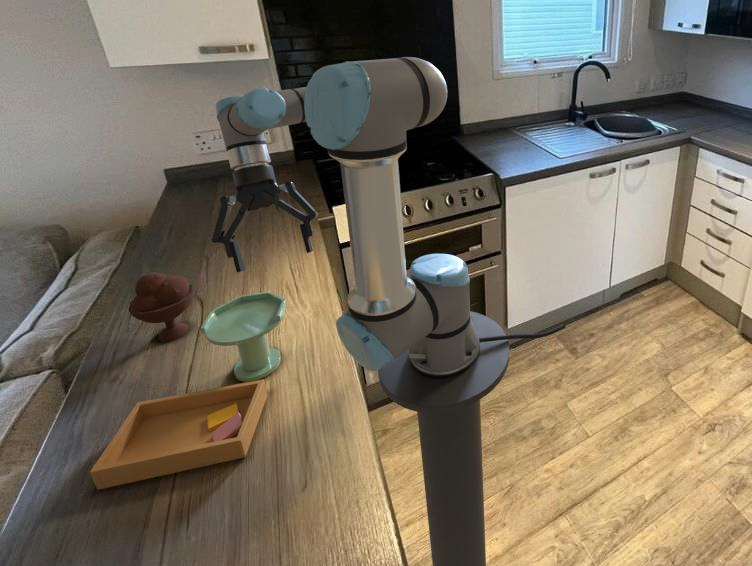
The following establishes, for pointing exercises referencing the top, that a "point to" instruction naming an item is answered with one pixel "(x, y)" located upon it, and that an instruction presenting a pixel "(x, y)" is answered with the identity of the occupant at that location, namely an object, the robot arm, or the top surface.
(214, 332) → the green pedestal stand
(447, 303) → the robot arm
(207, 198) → the top surface
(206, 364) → the top surface
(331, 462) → the top surface
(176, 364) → the top surface
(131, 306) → the ice cream bowl
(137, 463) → the box
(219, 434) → the sachet
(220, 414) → the sachet
